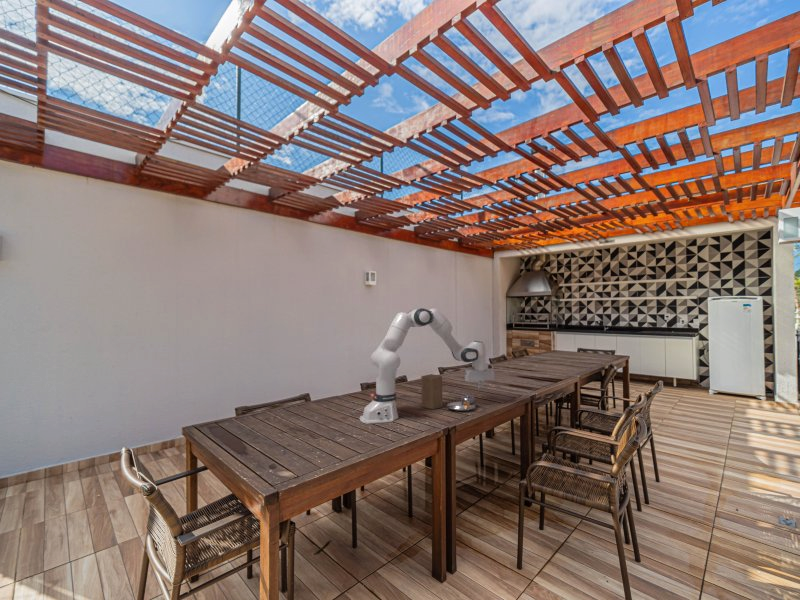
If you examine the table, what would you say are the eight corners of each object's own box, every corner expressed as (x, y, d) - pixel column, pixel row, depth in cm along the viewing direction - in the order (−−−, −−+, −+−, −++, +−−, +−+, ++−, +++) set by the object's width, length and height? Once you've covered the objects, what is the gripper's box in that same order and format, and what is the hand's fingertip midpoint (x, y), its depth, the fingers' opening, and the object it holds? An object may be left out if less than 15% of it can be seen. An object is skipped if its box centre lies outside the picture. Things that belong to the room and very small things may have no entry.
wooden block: (432, 410, 223) (431, 377, 223) (421, 407, 230) (420, 375, 231) (443, 407, 229) (442, 375, 230) (431, 404, 237) (430, 373, 237)
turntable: (455, 413, 212) (455, 403, 213) (442, 407, 228) (442, 397, 229) (480, 410, 219) (480, 400, 219) (465, 403, 234) (465, 394, 235)
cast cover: (465, 405, 220) (465, 397, 220) (459, 402, 228) (458, 395, 228) (476, 404, 223) (476, 396, 223) (469, 401, 230) (469, 393, 231)
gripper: (467, 368, 223) (468, 390, 222) (495, 365, 230) (496, 387, 230) (462, 367, 229) (463, 388, 228) (489, 364, 236) (490, 385, 236)
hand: (480, 388), depth 229 cm, fingers closed
